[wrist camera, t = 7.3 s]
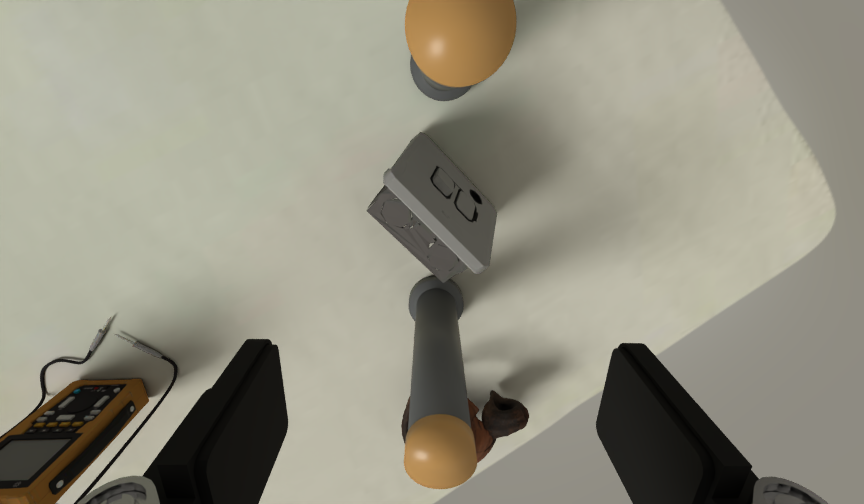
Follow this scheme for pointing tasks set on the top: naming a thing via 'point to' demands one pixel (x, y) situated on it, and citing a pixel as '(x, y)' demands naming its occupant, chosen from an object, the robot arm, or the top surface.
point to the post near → (457, 43)
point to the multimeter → (69, 434)
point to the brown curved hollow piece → (488, 421)
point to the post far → (438, 390)
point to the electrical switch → (436, 211)
